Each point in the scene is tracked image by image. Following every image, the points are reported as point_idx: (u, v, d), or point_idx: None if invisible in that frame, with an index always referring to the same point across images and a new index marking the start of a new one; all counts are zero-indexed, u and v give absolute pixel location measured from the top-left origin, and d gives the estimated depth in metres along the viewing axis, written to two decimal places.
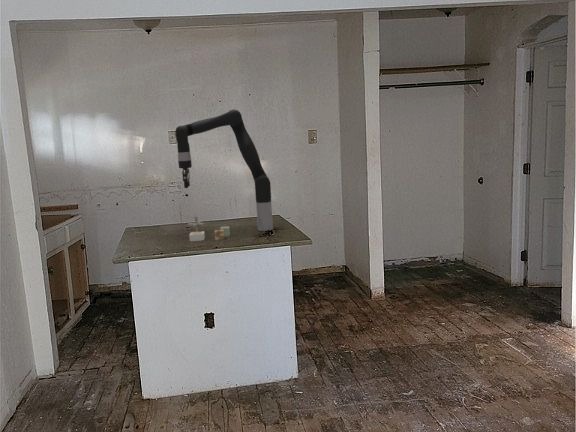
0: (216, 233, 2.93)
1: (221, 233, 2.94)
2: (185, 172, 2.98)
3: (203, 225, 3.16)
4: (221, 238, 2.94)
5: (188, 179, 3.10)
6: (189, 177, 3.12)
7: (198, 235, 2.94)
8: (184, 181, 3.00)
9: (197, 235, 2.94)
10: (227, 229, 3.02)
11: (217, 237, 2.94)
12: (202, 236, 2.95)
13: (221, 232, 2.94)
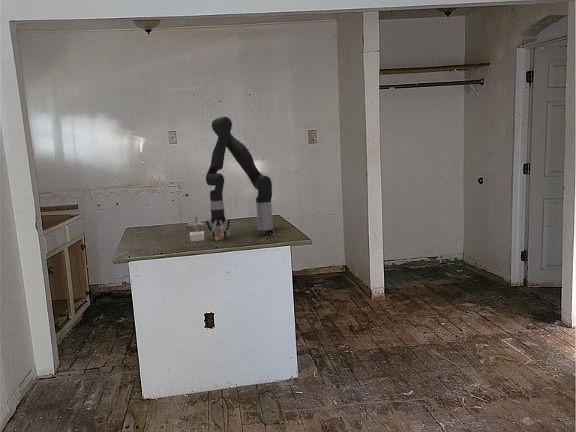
0: (216, 233, 2.93)
1: (221, 233, 2.94)
2: (229, 220, 2.96)
3: (203, 225, 3.16)
4: (221, 238, 2.94)
5: None
6: None
7: (199, 235, 2.95)
8: None
9: (198, 235, 2.94)
10: None
11: (217, 237, 2.94)
12: (203, 236, 2.95)
13: (221, 232, 2.94)
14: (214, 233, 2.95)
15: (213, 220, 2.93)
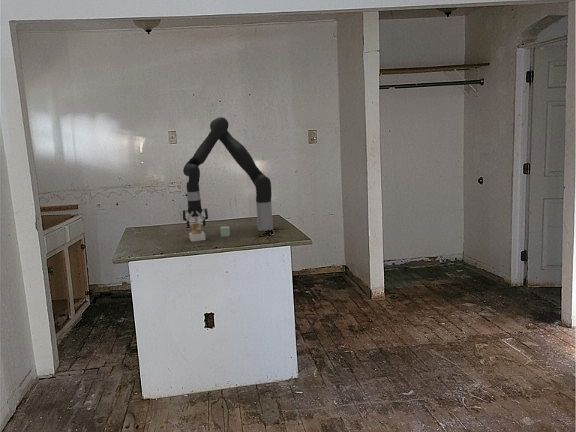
0: (193, 227, 2.95)
1: (198, 226, 2.95)
2: None
3: None
4: (197, 232, 2.96)
5: (188, 220, 2.97)
6: None
7: (200, 235, 2.95)
8: (205, 219, 2.96)
9: (199, 235, 2.95)
10: (227, 229, 3.02)
11: (194, 231, 2.95)
12: (204, 236, 2.96)
13: (198, 226, 2.95)
14: (188, 223, 2.96)
15: (190, 211, 2.95)
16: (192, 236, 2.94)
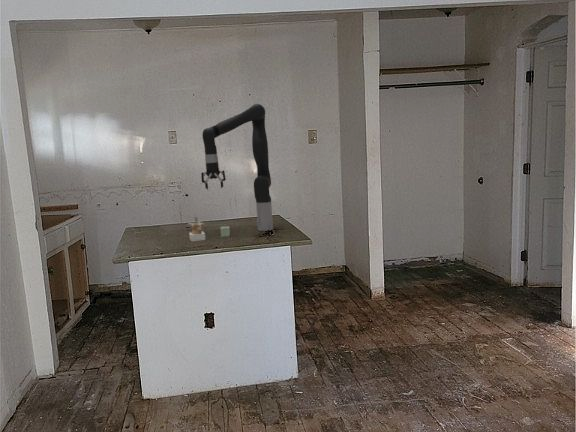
0: (193, 227, 2.95)
1: (198, 227, 2.95)
2: (224, 172, 3.10)
3: (203, 225, 3.16)
4: (198, 232, 2.95)
5: (206, 182, 3.10)
6: (203, 180, 3.10)
7: (200, 235, 2.95)
8: None
9: (199, 235, 2.95)
10: (227, 229, 3.02)
11: (194, 231, 2.95)
12: (204, 236, 2.96)
13: (198, 226, 2.95)
14: (207, 185, 3.09)
15: (208, 173, 3.08)
16: (192, 236, 2.94)
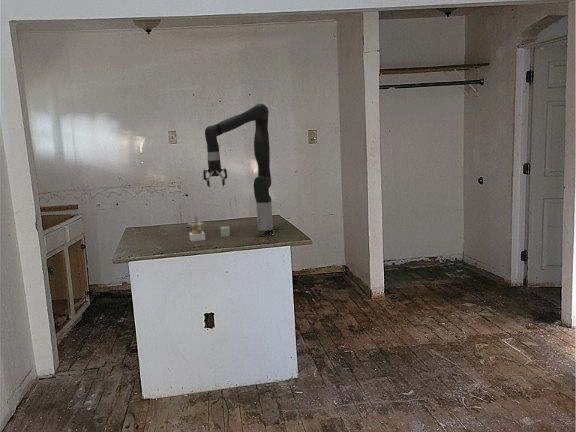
0: (193, 227, 2.95)
1: (198, 226, 2.95)
2: (226, 170, 3.12)
3: (203, 225, 3.16)
4: (198, 232, 2.96)
5: (208, 179, 3.12)
6: (205, 178, 3.12)
7: (200, 235, 2.95)
8: (224, 179, 3.11)
9: (198, 235, 2.95)
10: (227, 229, 3.02)
11: (194, 231, 2.95)
12: (203, 236, 2.96)
13: (198, 226, 2.95)
14: (208, 182, 3.10)
15: (210, 171, 3.09)
16: (192, 236, 2.94)
